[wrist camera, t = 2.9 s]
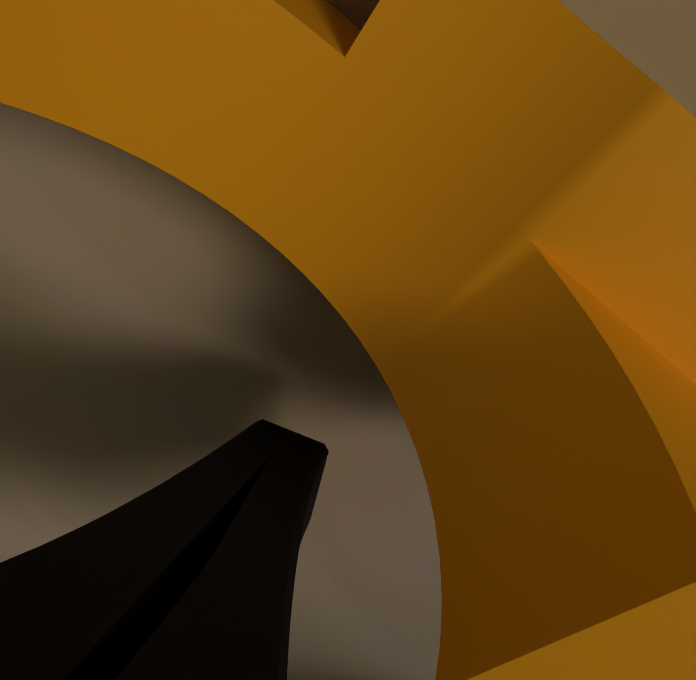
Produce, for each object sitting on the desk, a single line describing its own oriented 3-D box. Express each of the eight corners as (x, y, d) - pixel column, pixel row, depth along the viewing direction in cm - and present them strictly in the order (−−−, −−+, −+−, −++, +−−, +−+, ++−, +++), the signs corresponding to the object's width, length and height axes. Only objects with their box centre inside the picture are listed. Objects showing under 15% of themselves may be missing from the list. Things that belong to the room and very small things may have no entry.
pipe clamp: (809, 247, 8) (1409, 683, 2) (572, 413, 10) (602, 829, 5) (154, -348, 7) (-1114, -1652, 2) (61, -23, 9) (-596, -127, 4)
